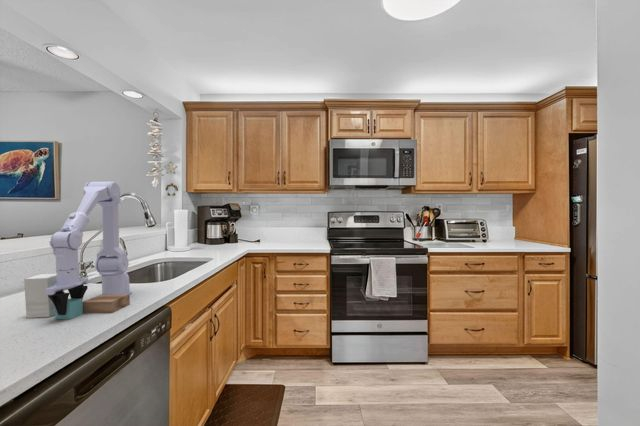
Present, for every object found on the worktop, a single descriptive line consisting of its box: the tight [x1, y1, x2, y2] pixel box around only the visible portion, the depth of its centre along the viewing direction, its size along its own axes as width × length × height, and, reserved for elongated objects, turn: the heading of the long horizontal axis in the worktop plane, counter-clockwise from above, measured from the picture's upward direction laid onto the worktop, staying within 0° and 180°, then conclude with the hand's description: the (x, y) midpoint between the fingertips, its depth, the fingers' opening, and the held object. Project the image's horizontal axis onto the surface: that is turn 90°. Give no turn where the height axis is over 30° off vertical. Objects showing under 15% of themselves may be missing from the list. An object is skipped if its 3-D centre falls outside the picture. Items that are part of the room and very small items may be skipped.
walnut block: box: [82, 293, 131, 315], centre depth 118 cm, size 10×10×4 cm
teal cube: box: [54, 298, 83, 320], centre depth 110 cm, size 5×5×5 cm
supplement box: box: [23, 273, 65, 319], centre depth 113 cm, size 7×7×13 cm
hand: (69, 311), depth 110 cm, fingers closed on teal cube, 5 cm apart
